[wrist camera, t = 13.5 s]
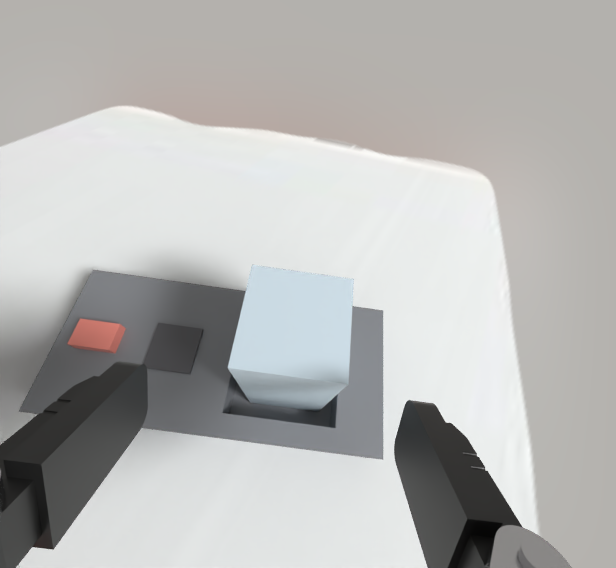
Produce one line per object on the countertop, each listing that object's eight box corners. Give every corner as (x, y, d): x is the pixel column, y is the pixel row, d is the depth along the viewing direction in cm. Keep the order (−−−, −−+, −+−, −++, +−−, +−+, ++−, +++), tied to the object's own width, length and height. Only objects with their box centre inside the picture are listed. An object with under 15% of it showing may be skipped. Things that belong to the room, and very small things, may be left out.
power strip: (54, 416, 19) (7, 409, 16) (113, 289, 24) (86, 263, 20) (369, 457, 20) (387, 460, 16) (371, 325, 24) (386, 305, 21)
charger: (250, 402, 20) (227, 368, 11) (263, 334, 22) (252, 261, 14) (318, 411, 20) (348, 384, 11) (324, 343, 22) (353, 276, 14)
